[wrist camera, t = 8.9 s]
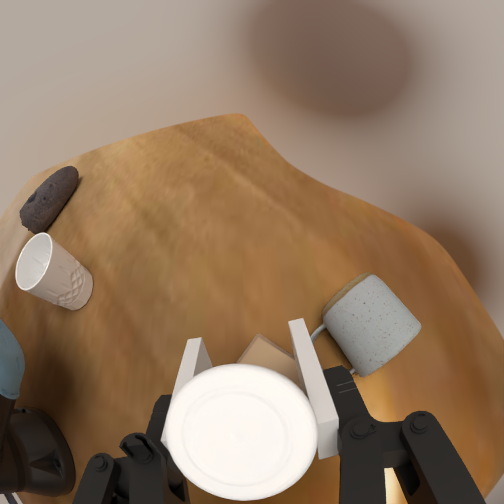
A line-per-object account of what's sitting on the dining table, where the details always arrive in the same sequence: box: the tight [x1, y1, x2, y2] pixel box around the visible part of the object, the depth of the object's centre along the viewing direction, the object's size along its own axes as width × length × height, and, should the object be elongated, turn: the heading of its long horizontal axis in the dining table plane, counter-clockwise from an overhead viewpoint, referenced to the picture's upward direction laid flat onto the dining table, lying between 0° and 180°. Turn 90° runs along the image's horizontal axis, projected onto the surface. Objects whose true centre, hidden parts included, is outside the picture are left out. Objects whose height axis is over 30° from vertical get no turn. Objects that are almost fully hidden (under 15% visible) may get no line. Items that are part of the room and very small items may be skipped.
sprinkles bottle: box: [165, 364, 319, 501], centre depth 12 cm, size 5×5×14 cm
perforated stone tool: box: [20, 166, 79, 234], centre depth 40 cm, size 15×5×7 cm, turn 148°
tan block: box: [236, 333, 302, 390], centre depth 23 cm, size 9×9×6 cm
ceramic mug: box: [310, 273, 421, 377], centre depth 24 cm, size 11×8×8 cm
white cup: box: [16, 233, 93, 310], centre depth 30 cm, size 8×8×10 cm
